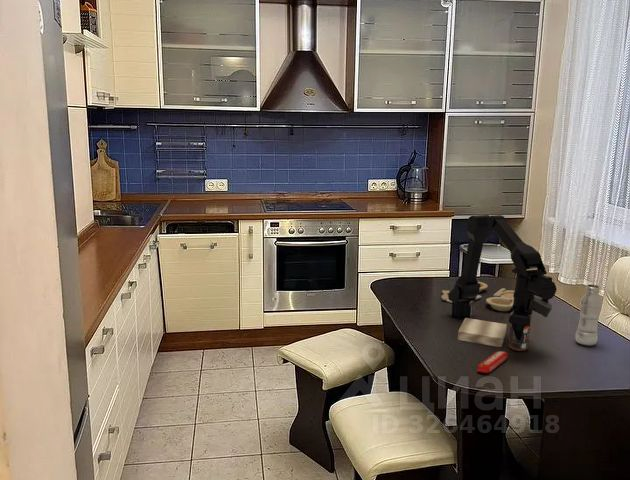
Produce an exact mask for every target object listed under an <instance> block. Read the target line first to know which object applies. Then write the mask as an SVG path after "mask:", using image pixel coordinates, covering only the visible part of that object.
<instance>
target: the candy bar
mask: <svg viewBox="0 0 630 480" xmlns="http://www.w3.org/2000/svg"><path fill="white" fill-rule="evenodd" d="M508 355H509V353H508V352H506V351H501V350H500V351H495V352H494V353H492V354H491V355H489V356H488V357H487V358H486V359H484V360H483V361H482V362H480V363H479V364H478V365H477V370H476V372H477V373H478V372H479V373H481V374H488V373H491V372H492V371H494V370H495V369H496V368H497V367H498V366H500V365H501V364H503V363H504V362H505V361H506V360H507V359H508Z"/></svg>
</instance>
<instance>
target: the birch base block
mask: <svg viewBox="0 0 630 480" xmlns="http://www.w3.org/2000/svg"><path fill="white" fill-rule="evenodd" d="M462 321H463V322H462V323H461V325H460V327H459V329H458V331H457V341H461V342H462V341H463V342H468V343H474V344H480V345H486V346H492V347H498V348H502V347H503V344H504V340H505V338H506V337H505V336H506V333H507V325H508V324H507V323H502V322H493V321H488V320H484V319H483V320H481V319H477V318H476V319H474V318H471V317H469V318H465V319H463V320H462Z"/></svg>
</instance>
